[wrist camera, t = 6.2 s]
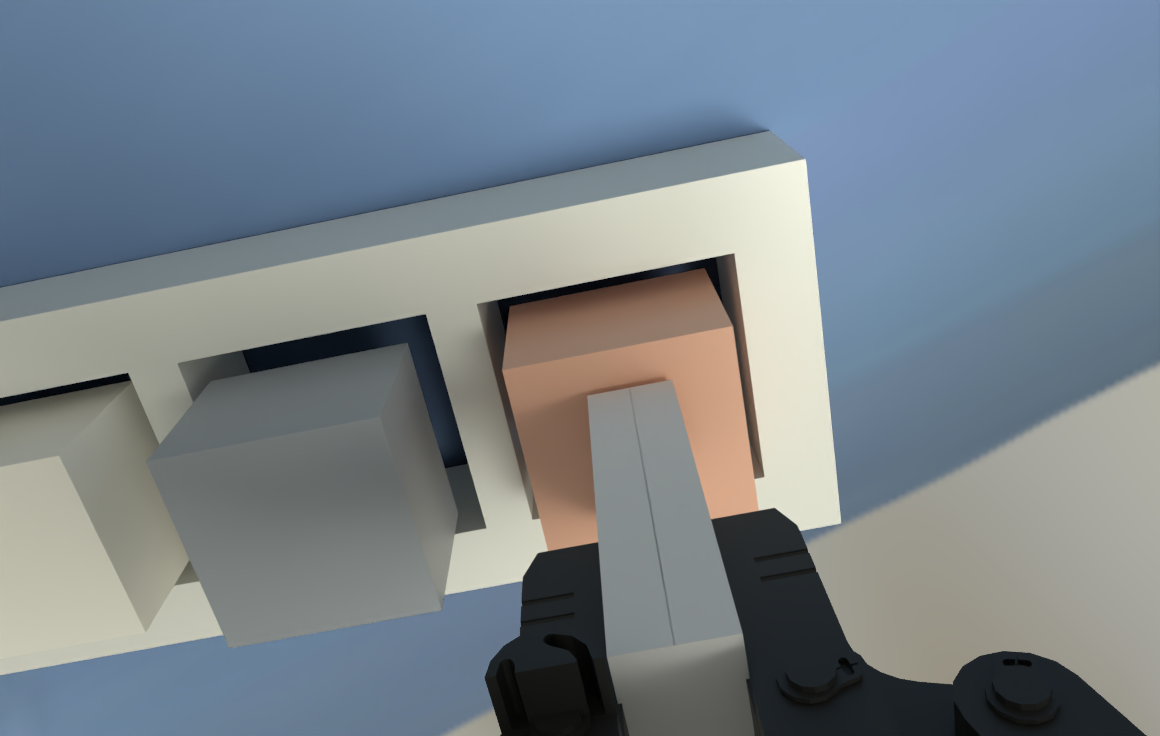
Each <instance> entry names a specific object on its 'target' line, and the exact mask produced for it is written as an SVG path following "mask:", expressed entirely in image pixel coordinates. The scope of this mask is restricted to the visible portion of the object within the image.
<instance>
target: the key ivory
mask: <svg viewBox="0 0 1160 736" xmlns="http://www.w3.org/2000/svg"><path fill="white" fill-rule="evenodd" d="M159 445H160V444H159V442H158V440H157V438H156V435H155V433H154V431H153V428H152V426H151V424H150V422H149V419H148V417H147V415H146V412H145V410H144V408H143V406H142V403H141V401H140V399H139V396H138V394H137V392H136V390H135V387H134V385H133V383H132V380H131V381H126V382H121V383H116V384H110V385H105V386H100V387H95V388H90V389H85V390H80V391H75V392H70V393H65V394H60V395H55V396H49V397H44V398H39V399H34V400H29V401H24V402H19V403H14V404H9V405H4V406H0V659H3V658H9V657H14V656H20V655H25V654H31V653H36V652H42V651H47V650H53V649H58V648H64V647H69V646H75V645H80V644H86V643H91V642H97V641H102V640H108V639H113V638H119V637H125V636H130V635H136V634H141V633H146V632H147V630H148V628H149V627H150V625H151V623H152V622H153V620H154V618H155V617H156V615H157V613H158V612H159V610H160V608H161V607H162V605H163V603H164V602H165V600H166V598H167V597H168V595H169V593H170V592H171V590H172V588H173V587H174V585H175V583H176V582H177V580H178V578H179V577H180V575H181V573H182V572H183V570H184V568H185V567H186V565H187V563H188V562H189V560H190V559H189V557H188V555H187V553H186V550H185V548H184V546H183V544H182V542H181V539H180V537H179V535H178V533H177V530H176V528H175V526H174V524H173V521H172V519H171V517H170V515H169V513H168V510H167V508H166V506H165V504H164V501H163V499H162V497H161V495H160V492H159V490H158V488H157V486H156V484H155V481H154V479H153V477H152V475H151V472H150V470H149V468H148V466H147V463H146V461H147V460H148V458H149V457H150V456H151V455H152V453H153V452H154V451H155V450H156V449H157V447H158V446H159Z"/></svg>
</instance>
